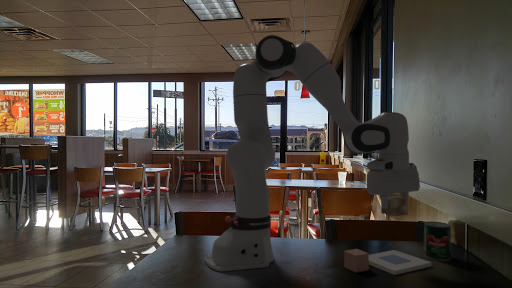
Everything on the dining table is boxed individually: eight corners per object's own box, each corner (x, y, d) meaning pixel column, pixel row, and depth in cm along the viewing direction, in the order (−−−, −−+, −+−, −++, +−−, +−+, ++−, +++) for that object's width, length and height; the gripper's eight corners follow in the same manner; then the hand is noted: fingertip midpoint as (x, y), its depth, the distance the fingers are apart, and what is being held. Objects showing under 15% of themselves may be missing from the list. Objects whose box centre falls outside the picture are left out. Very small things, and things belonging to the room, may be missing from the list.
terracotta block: (355, 272, 99) (355, 255, 99) (344, 267, 103) (344, 250, 103) (368, 270, 101) (368, 253, 101) (356, 264, 105) (356, 248, 105)
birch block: (395, 216, 103) (395, 199, 103) (381, 213, 108) (381, 197, 108) (407, 214, 106) (407, 198, 106) (393, 211, 111) (393, 196, 111)
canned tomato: (443, 253, 117) (443, 221, 117) (456, 261, 109) (456, 226, 109) (419, 253, 117) (419, 221, 117) (431, 260, 109) (431, 226, 109)
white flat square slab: (394, 275, 97) (394, 270, 97) (359, 260, 109) (359, 256, 109) (431, 266, 104) (431, 262, 104) (394, 253, 116) (394, 249, 116)
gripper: (407, 162, 115) (408, 203, 114) (362, 163, 105) (363, 208, 105) (424, 162, 109) (425, 205, 109) (378, 164, 100) (379, 211, 100)
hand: (394, 207), depth 107 cm, fingers closed on birch block, 5 cm apart
